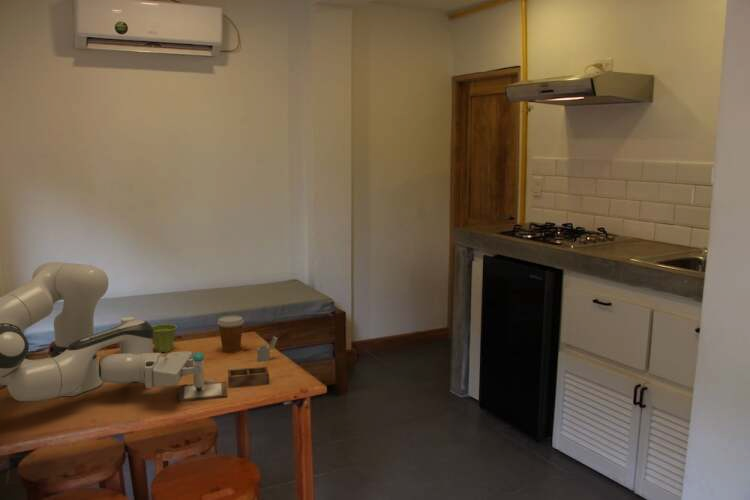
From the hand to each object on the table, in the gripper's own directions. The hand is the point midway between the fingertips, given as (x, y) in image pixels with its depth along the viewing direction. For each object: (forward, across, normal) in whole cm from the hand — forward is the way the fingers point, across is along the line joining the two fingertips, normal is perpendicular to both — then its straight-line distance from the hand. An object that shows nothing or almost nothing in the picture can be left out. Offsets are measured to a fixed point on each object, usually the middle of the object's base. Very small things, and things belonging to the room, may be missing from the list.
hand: (201, 366), depth 190 cm
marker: (-2, -3, -8) cm, 9 cm away
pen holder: (+12, -11, -9) cm, 19 cm away
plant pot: (-24, -45, -10) cm, 52 cm away
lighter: (+16, -33, -10) cm, 38 cm away
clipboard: (-1, -3, -9) cm, 10 cm away
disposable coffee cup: (+1, -44, -10) cm, 45 cm away
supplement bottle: (-35, -43, -10) cm, 56 cm away
